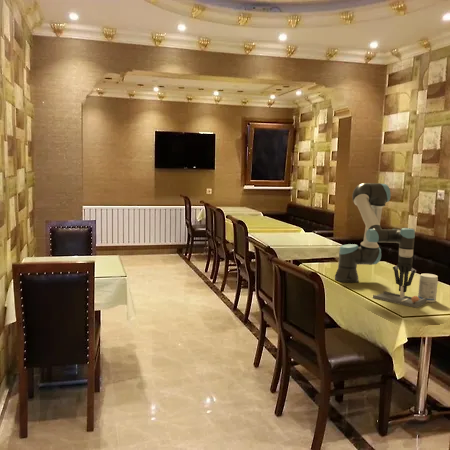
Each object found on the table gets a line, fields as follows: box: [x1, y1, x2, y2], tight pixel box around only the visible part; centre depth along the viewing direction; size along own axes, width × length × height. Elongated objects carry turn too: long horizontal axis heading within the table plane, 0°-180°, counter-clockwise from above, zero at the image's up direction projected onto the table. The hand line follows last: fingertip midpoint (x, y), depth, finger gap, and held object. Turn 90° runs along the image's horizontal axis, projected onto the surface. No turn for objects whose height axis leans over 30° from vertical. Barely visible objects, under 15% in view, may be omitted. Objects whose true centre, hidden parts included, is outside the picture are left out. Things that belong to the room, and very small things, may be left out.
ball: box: [411, 295, 419, 303], centre depth 263 cm, size 4×4×4 cm
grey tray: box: [372, 290, 427, 309], centre depth 270 cm, size 25×14×3 cm, turn 46°
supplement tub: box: [417, 273, 439, 303], centre depth 271 cm, size 10×10×15 cm
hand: (402, 297), depth 268 cm, fingers closed
